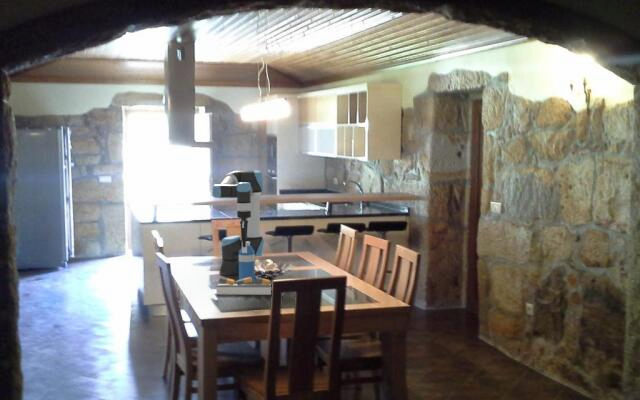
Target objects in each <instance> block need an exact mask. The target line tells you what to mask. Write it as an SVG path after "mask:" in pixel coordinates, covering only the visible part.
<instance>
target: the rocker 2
mask: <svg viewBox="0 0 640 400" xmlns="http://www.w3.org/2000/svg"><path fill="white" fill-rule="evenodd" d="M236 281H237V285H241V284H245V283H249V282H252V277H247V278H244V279H240V280H239V279H237V280H236Z"/></svg>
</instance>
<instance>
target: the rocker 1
mask: <svg viewBox="0 0 640 400" xmlns="http://www.w3.org/2000/svg"><path fill="white" fill-rule="evenodd" d="M234 281H236V280H235V279H232V278H228V277H224V276H220V277H219V279H218V283H219V282H222V283H226V284H230V285H233V284H234Z"/></svg>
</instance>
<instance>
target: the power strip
mask: <svg viewBox="0 0 640 400" xmlns="http://www.w3.org/2000/svg"><path fill="white" fill-rule="evenodd" d="M271 284H272V285H273V281H270V284H269V285H265V284H262V283H258V282H255V281H252V282H249V283H245V284H241V285H237V280H235V281H234V284H233V285H230V284H226V283H222V282H219V281H218V284H217V285H216V295H252V296H253V295H256V296H257V295H260V296H261V295H262V296H264V295H272V293H271Z"/></svg>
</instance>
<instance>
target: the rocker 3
mask: <svg viewBox="0 0 640 400" xmlns="http://www.w3.org/2000/svg"><path fill="white" fill-rule="evenodd" d="M255 282H258V283H262V284H265V285H269V284H270V282H271V279H268V278H263V277H260V276H255Z"/></svg>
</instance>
